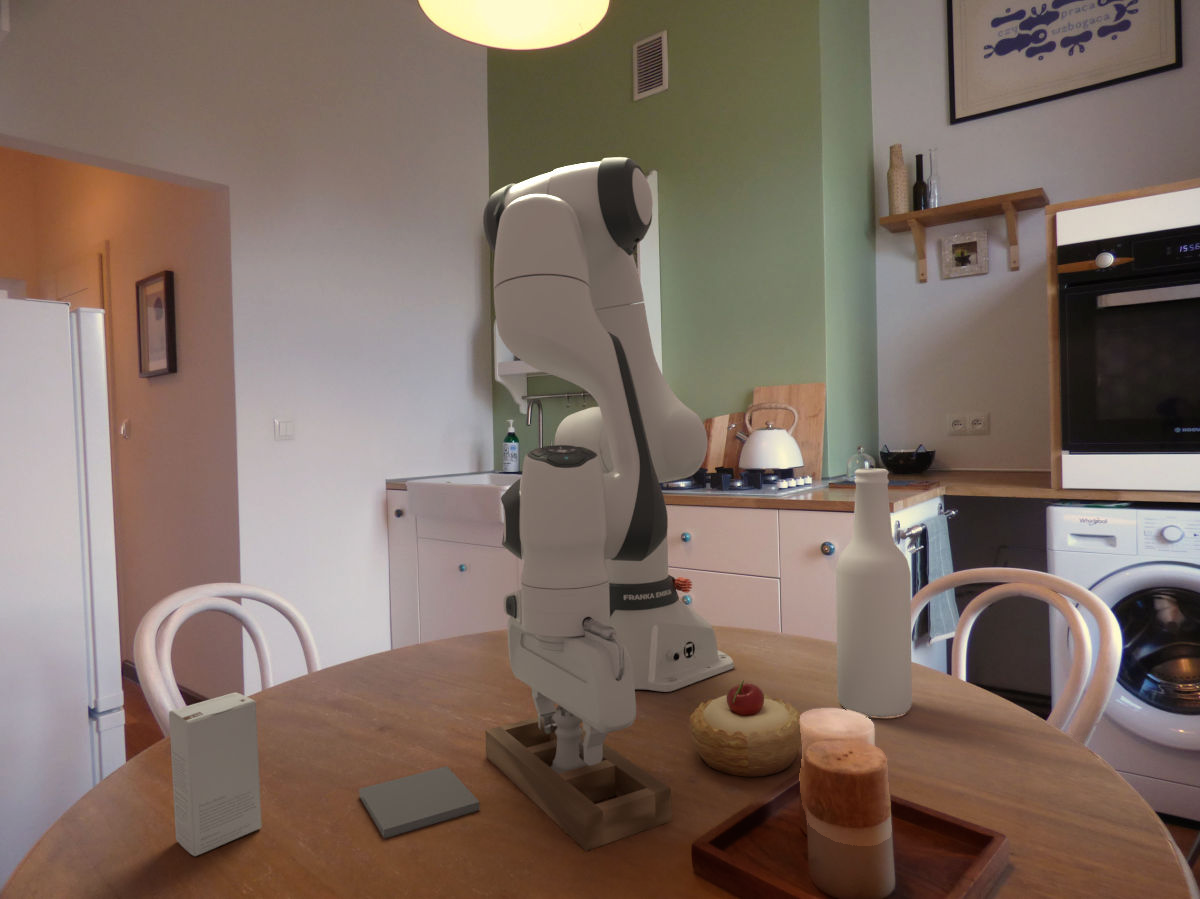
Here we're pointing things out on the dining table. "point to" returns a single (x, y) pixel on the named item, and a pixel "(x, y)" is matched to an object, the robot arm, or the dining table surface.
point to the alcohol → (873, 608)
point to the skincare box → (215, 772)
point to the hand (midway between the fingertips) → (568, 745)
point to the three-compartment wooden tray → (580, 786)
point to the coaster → (417, 801)
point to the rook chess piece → (567, 741)
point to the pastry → (746, 732)
